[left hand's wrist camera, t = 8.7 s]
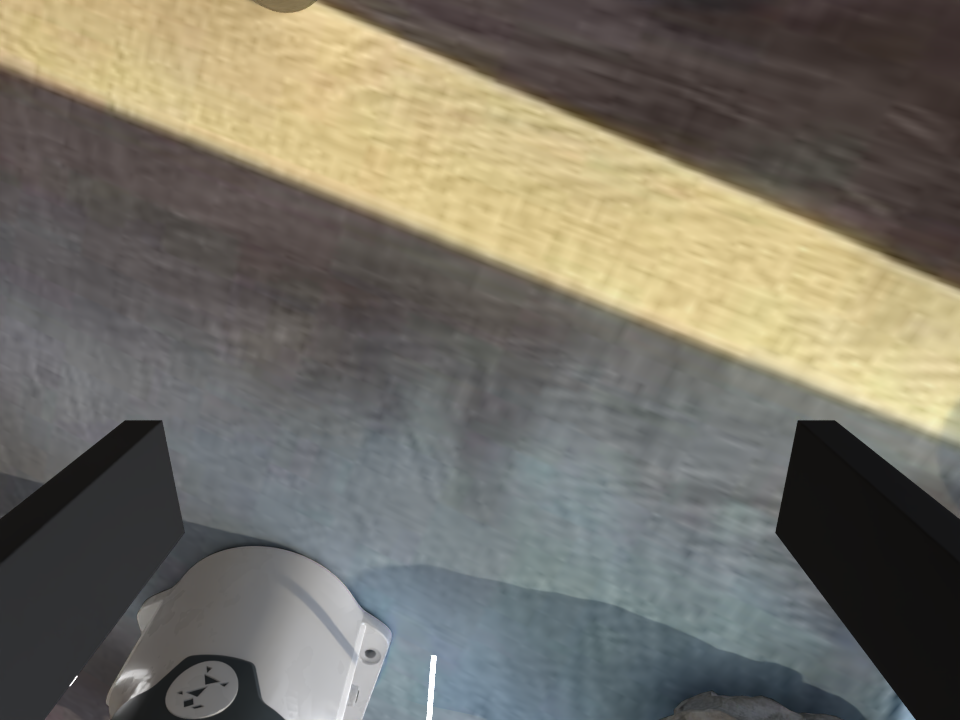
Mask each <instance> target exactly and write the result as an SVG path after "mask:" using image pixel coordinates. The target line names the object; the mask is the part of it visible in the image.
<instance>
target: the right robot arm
mask: <svg viewBox="0 0 960 720" xmlns="http://www.w3.org/2000/svg"><path fill="white" fill-rule="evenodd" d="M137 621H138V624H139V627H140V630H141V633H142V635H141V636H140V638H139V640H138V641H137V643H136V645H135V647H134V648H133V650H132V652H131V653H130V655H129V657H128V659H127V660H126V662H125V664H124V666H123V667H122V669H121V671H120V673H119V674H118V676H117V678H116V680H115V681H114V683H113V685H112V687H111V688H110V690H109V692H108V695H107V699H106V704H107V705H108V706H109V714H110V717H111V720H362V718H363V716H364V713H365V710H366V708H367V705H368V702H369V700H370V697H371V694H372V692H373V689H374V686H375V684H376V681H377V678H378V675H379V673H380V670H381V667H382V665H383V662H384V659H385V657H386V654H387V651H388V649H389V646H390V643H391V639H392V633H391V631H390V629H389V628H388V627H387V626H386V625H385V624H384V623H383V622H381V621H380V620H378V619H377V618H375V617H374V616H372V615H371V614H369V613H368V612H366V611H364V610H363V608H362V607H361V606H360V605H359V604H358V603H357V601H356V600H355V598H354V597H353V595H352V594H351V593H350V591H349V590H348V589H347V587H346V586H345V585H344V584H343V583H342V582H341V581H340V580H339V579H338V578H337V577H336V576H335V575H334V574H333V573H332V572H330V571H329V570H328V569H326V568H325V567H323V566H322V565H320V564H319V563H317V562H315V561H313V560H311V559H309V558H307V557H305V556H302V555H300V554H297V553H294V552H291V551H288V550H284V549H279V548H273V547H265V546H244V547H236V548H231V549H226V550H223V551H220V552H217V553H214V554H212V555H210V556H208V557H206V558H204V559H202V560H201V561H199V562H198V563H196V564H195V565H194V566H193V567H192V568H190V569H189V570H188V571H187V572H186V574H185V575H184V576H183V577H182V578H181V579H180V581H179V582H178V583H177V584H176V585H175V586H173V587H172V588H171V589H168V590H166V591H163V592H161V593H158V594H156V595H154V596H152V597H150V598H149V599H147V600H146V601H145V602H144V603H143V605H142V607H141V608H140V610H139V612H138V614H137ZM371 650H373V651H371ZM435 665H436V656H432V658H431V669H430V683H429V697H428V711H427V720H431V719H432V706H433V692H434V679H435ZM76 678H77V677H76ZM76 678H75V679H76ZM75 679H74V680H75ZM73 682H74V681H73ZM73 682H72V683H73ZM72 683H71V684H72ZM70 686H71V685H70Z"/></svg>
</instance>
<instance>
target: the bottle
mask: <svg viewBox="0 0 960 720" xmlns="http://www.w3.org/2000/svg"><path fill="white" fill-rule="evenodd" d="M253 1H255V2H256V3H258V4H260V5H261V6H263V7H265V8H267V9H270V10H272V11H276V12H283V13H290V12H297V11H300V10H303V9H305V8H307V7H309V6H310V5H312V4H313V3H314V2H316V1H317V0H253Z"/></svg>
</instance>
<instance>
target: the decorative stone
mask: <svg viewBox="0 0 960 720" xmlns="http://www.w3.org/2000/svg"><path fill="white" fill-rule="evenodd" d="M659 720H843V719H840V718H838V717H835V716H832V715H827V714H811V713H796V712H793V711H790V710H789V709H787V708H786V707H784V706H783V705H781V704H779V703H778V702H776V701H775V700H773V699H770V698H767V697H764V696H755V697H748V696H732V697H730V696H726V695H720V696H719V695H718V694H716V693H715V692H713V691H708V692H704V693H701V694H698V695H696V696H694V697H691V698H689V699H686V700H684V701H682V702H681V703H680V704H679V705H678V706H677V707H676V708H675V709H674V715H671V716H668V717H665V718H662V719H659Z"/></svg>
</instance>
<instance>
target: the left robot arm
mask: <svg viewBox="0 0 960 720" xmlns="http://www.w3.org/2000/svg"><path fill="white" fill-rule="evenodd" d="M184 533H185V532H184V527H183V522H182V517H181V512H180V507H179V502H178V497H177V492H176V487H175V482H174V477H173V472H172V467H171V462H170V457H169V452H168V447H167V442H166V437H165V432H164V427H163V422H162V420H125V421H124V422H123V423H121V424H120V425H119V426H117V427H116V428H115V429H114V430H112V431H111V432H110V433H109V434H107V435H106V436H105V437H104V438H102V439H101V440H100V441H99V442H97V443H96V444H95V445H93V446H92V447H91V448H90V449H88V450H87V451H86V452H85V453H83V454H82V455H81V456H80V457H78V458H77V459H76V460H75V461H73V462H72V463H71V464H69V465H68V466H67V467H66V468H64V469H63V470H62V471H61V472H59V473H58V474H57V475H56V476H54V477H53V478H52V479H51V480H49V481H48V482H47V483H46V484H44V485H43V486H42V487H40V488H39V489H38V490H37V491H35V492H34V493H33V494H32V495H30V496H29V497H28V498H27V499H25V500H24V501H23V502H22V503H20V504H19V505H18V506H16V507H15V508H14V509H13V510H11V511H10V512H9V513H8V514H6V515H5V516H4V517H3V518H1V519H0V720H44V719H45V718H46V717H47V715H48V714H49V713H50V711H51V710H52V709H53V707H54V706H55V705H56V703H57V702H58V701H59V699H60V698H61V697H62V695H63V694H64V693H65V691H66V690H67V689H68V687H69V686H70V685H71V683H72V682H73V681H74V679H75V678H76V677H77V675H78V674H79V673H80V671H81V670H82V669H83V667H84V666H85V665H86V663H87V662H88V661H89V659H90V658H91V657H92V655H93V654H94V653H95V651H96V650H97V649H98V647H99V646H100V645H101V643H102V642H103V641H104V639H105V638H106V637H107V635H108V634H109V633H110V631H111V630H112V629H113V627H114V626H115V625H116V623H117V622H118V621H119V619H120V618H121V617H122V615H123V614H124V613H125V611H126V610H127V609H128V607H129V606H130V605H131V603H132V602H133V601H134V599H135V598H136V597H137V595H138V594H139V593H140V591H141V590H142V589H143V587H144V586H145V585H146V583H147V582H148V581H149V579H150V578H151V577H152V575H153V574H154V573H155V572H156V570H157V569H158V568H159V566H160V565H161V564H162V562H163V561H164V560H165V558H166V557H167V556H168V554H169V553H170V552H171V550H172V549H173V548H174V546H175V545H176V544H177V542H178V541H179V540H180V538H181V537H182V536H183V534H184ZM775 533H776V534H777V536H778V537H779V538H780V540H781V541H782V542H783V544H784V545H785V546H786V548H787V549H788V550H789V552H790V553H791V554H792V556H793V557H794V558H795V560H796V561H797V562H798V564H799V565H800V566H801V568H802V569H803V570H804V571H805V573H806V574H807V575H808V577H809V578H810V579H811V581H812V582H813V583H814V585H815V586H816V587H817V589H818V590H819V591H820V593H821V594H822V595H823V597H824V598H825V599H826V601H827V602H828V603H829V605H830V606H831V607H832V609H833V610H834V611H835V613H836V614H837V615H838V617H839V618H840V619H841V621H842V622H843V623H844V625H845V626H846V627H847V629H848V630H849V631H850V633H851V634H852V635H853V637H854V638H855V639H856V641H857V642H858V643H859V645H860V646H861V647H862V649H863V650H864V651H865V653H866V654H867V655H868V657H869V658H870V659H871V661H872V662H873V663H874V665H875V666H876V667H877V669H878V670H879V671H880V673H881V674H882V675H883V677H884V678H885V679H886V681H887V682H888V683H889V685H890V686H891V687H892V689H893V690H894V691H895V693H896V694H897V695H898V697H899V698H900V699H901V701H902V702H903V703H904V705H905V706H906V707H907V709H908V710H909V711H910V713H911V714H912V715H913V717H914V718H915V719H916V720H960V519H959V518H957V517H956V516H955V515H954V514H952V513H951V512H950V511H949V510H947V509H946V508H945V507H944V506H942V505H941V504H940V503H938V502H937V501H936V500H935V499H933V498H932V497H931V496H930V495H928V494H927V493H926V492H925V491H923V490H922V489H921V488H920V487H918V486H917V485H916V484H914V483H913V482H912V481H911V480H909V479H908V478H907V477H906V476H904V475H903V474H902V473H901V472H899V471H898V470H897V469H896V468H894V467H893V466H892V465H891V464H889V463H888V462H887V461H885V460H884V459H883V458H882V457H880V456H879V455H878V454H877V453H875V452H874V451H873V450H872V449H870V448H869V447H868V446H867V445H865V444H864V443H863V442H861V441H860V440H859V439H858V438H856V437H855V436H854V435H853V434H851V433H850V432H849V431H848V430H846V429H845V428H844V427H843V426H841V425H840V424H839V423H837V422H836V421H835V420H798V422H797V427H796V432H795V437H794V442H793V447H792V452H791V457H790V462H789V467H788V472H787V477H786V482H785V487H784V492H783V497H782V502H781V507H780V512H779V517H778V522H777V527H776V532H775Z"/></svg>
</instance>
